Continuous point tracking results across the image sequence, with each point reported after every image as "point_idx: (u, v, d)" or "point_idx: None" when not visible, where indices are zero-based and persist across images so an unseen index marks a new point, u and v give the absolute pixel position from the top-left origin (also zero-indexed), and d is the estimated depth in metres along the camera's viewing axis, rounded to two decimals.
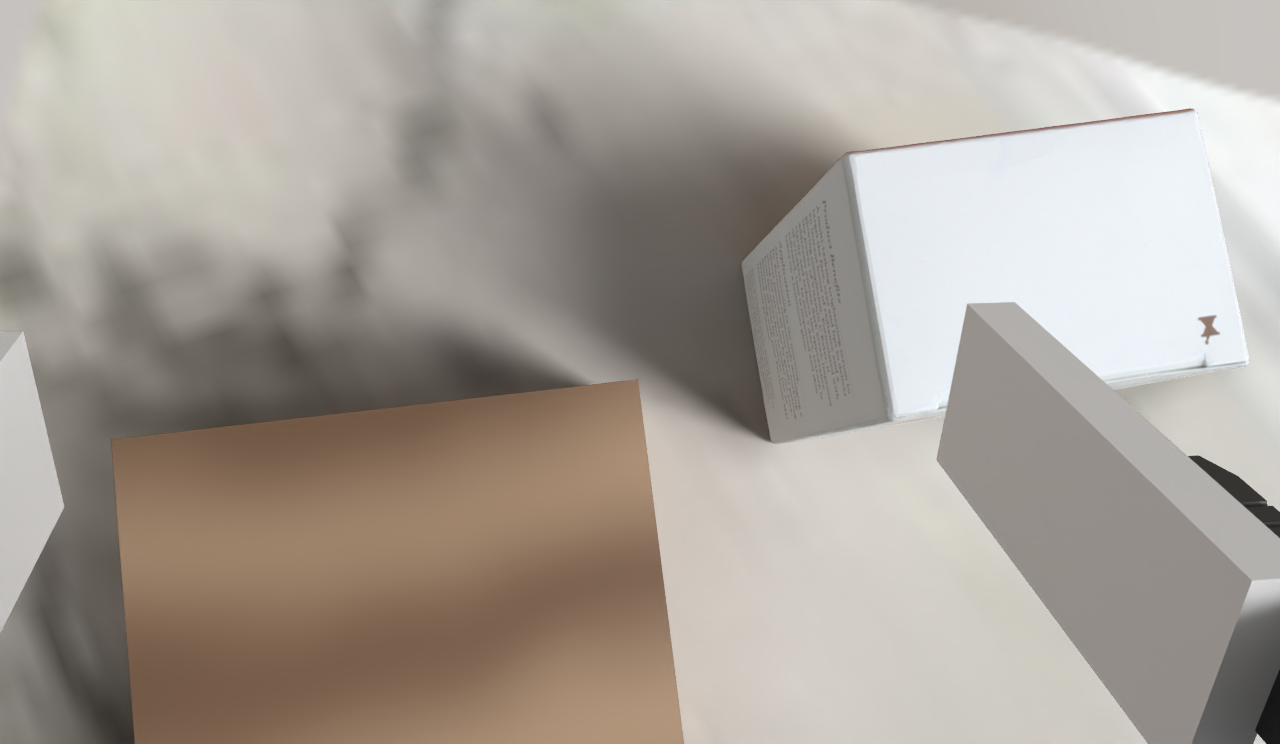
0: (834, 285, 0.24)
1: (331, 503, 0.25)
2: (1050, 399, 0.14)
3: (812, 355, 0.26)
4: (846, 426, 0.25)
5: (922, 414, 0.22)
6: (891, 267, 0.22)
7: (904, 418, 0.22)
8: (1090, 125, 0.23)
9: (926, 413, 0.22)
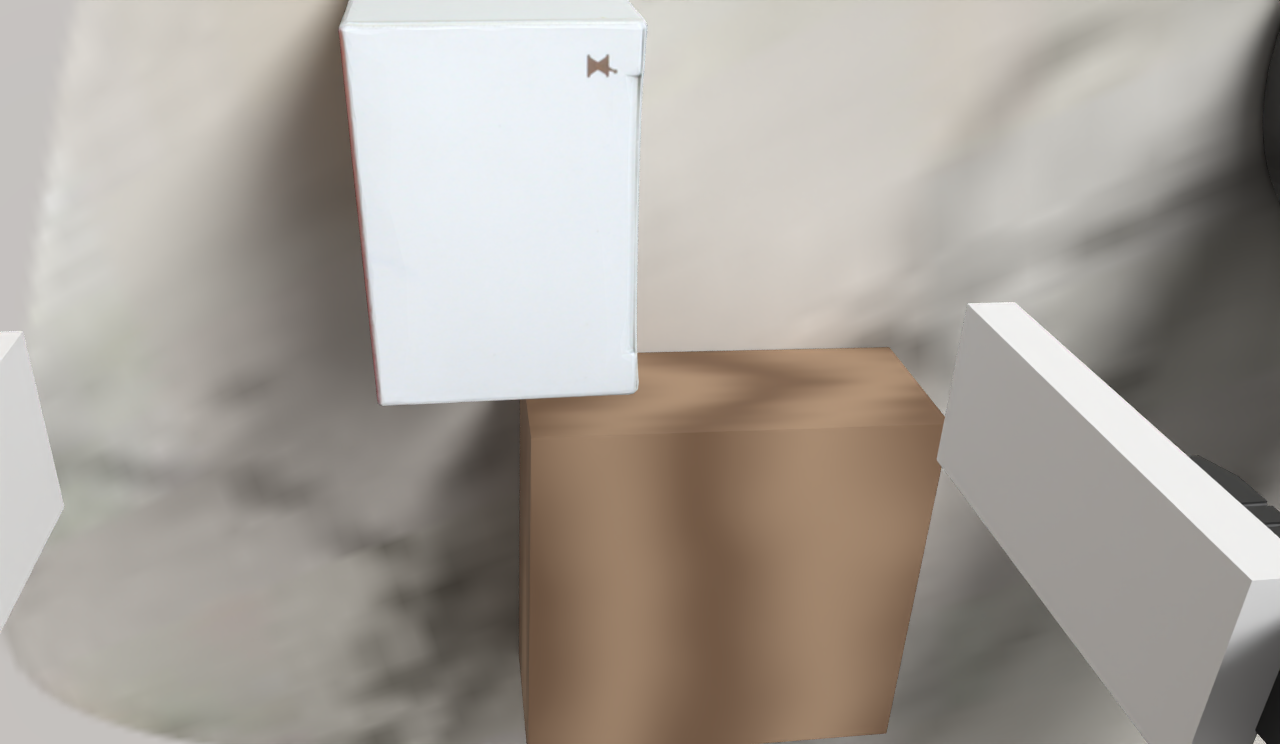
0: None
1: (596, 645, 0.34)
2: (1050, 399, 0.14)
3: None
4: None
5: (636, 364, 0.24)
6: (496, 382, 0.23)
7: (637, 380, 0.24)
8: (358, 161, 0.20)
9: (636, 361, 0.23)
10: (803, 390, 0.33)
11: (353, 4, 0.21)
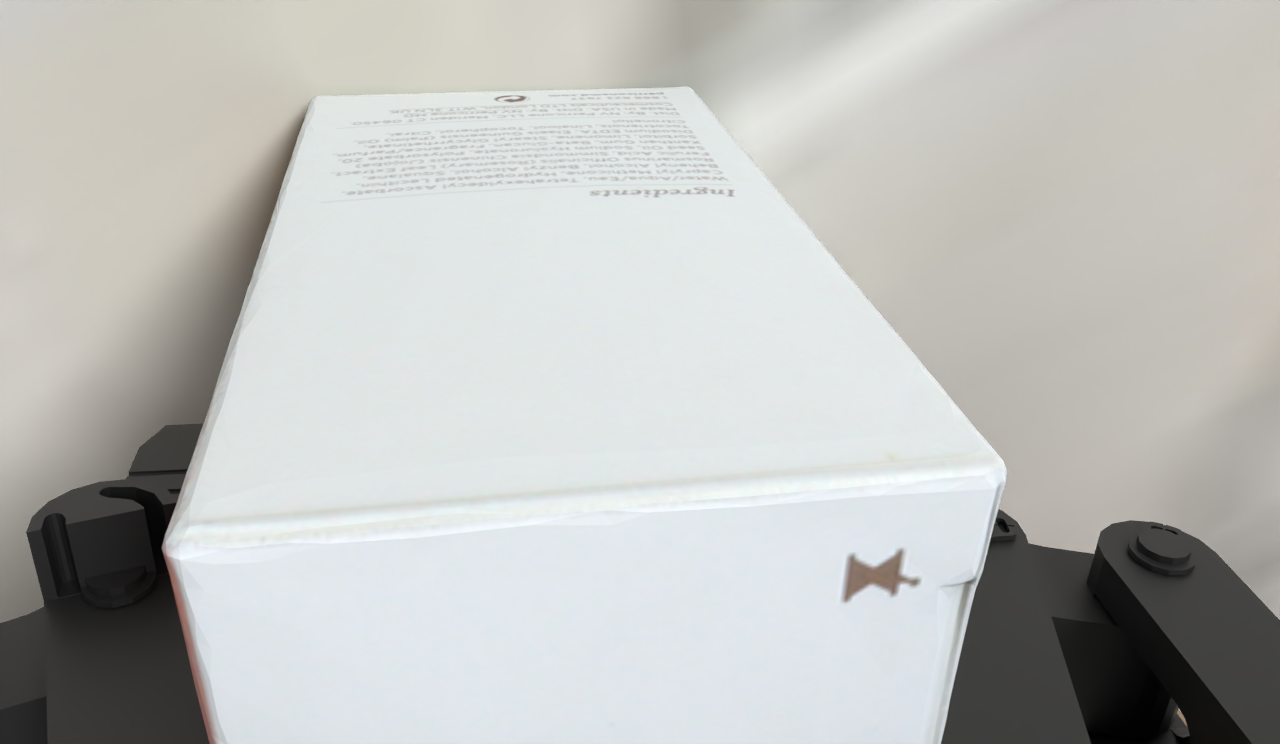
0: None
1: None
2: None
3: None
4: None
5: None
6: None
7: None
8: None
9: None
10: None
11: (227, 399, 0.08)
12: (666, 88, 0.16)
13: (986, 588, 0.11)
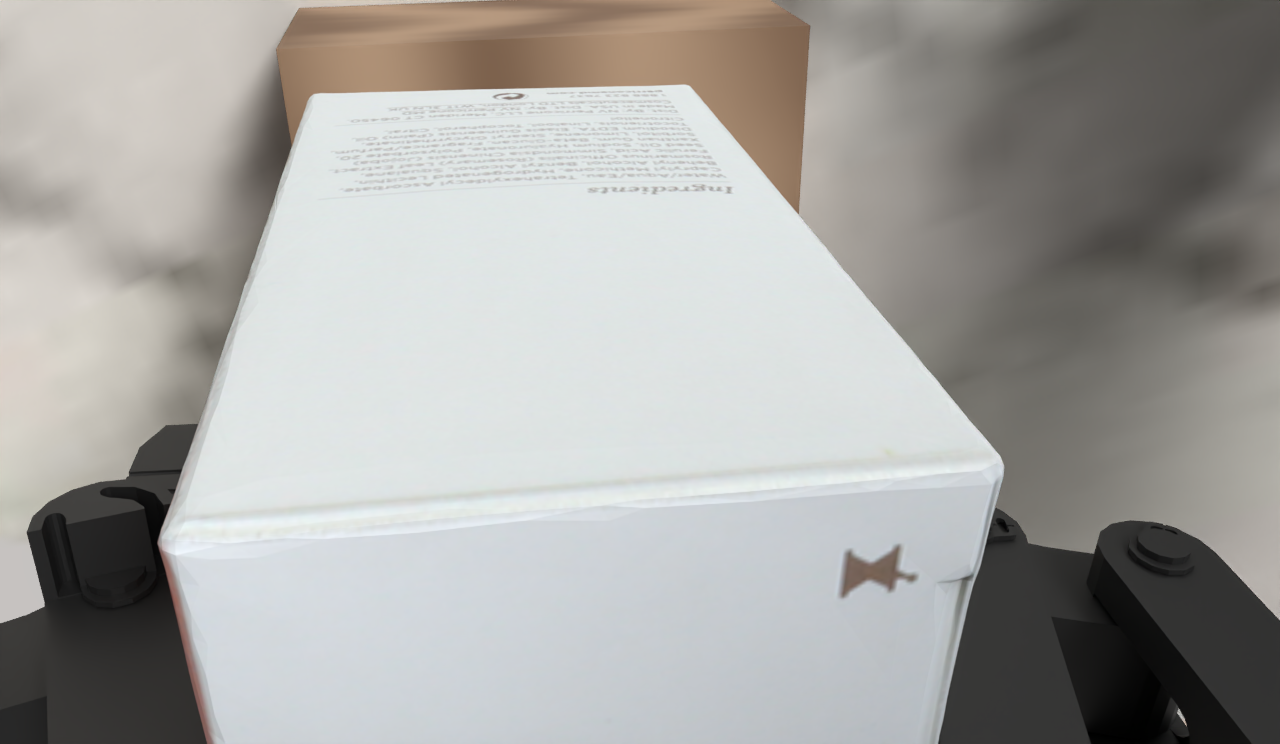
0: None
1: None
2: None
3: None
4: None
5: None
6: None
7: None
8: None
9: None
10: (636, 14, 0.27)
11: (223, 395, 0.08)
12: (665, 86, 0.16)
13: (987, 587, 0.11)
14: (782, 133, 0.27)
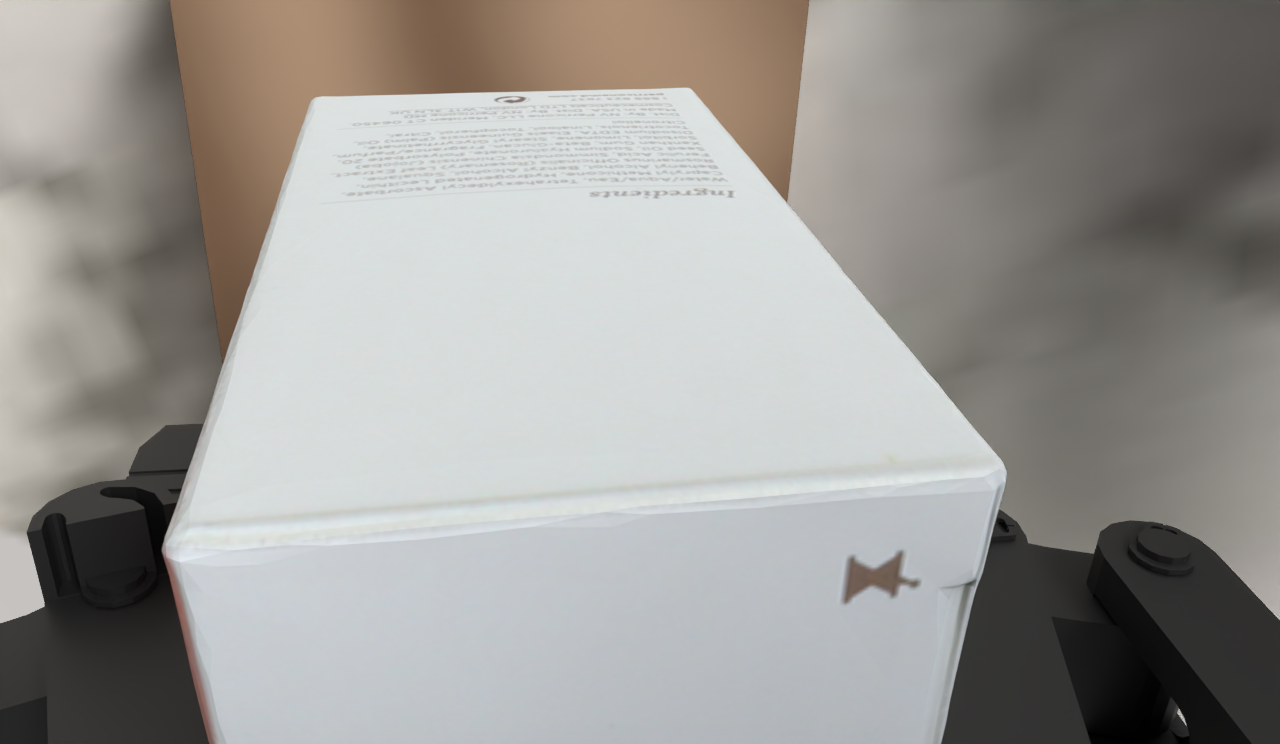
0: None
1: None
2: None
3: None
4: None
5: None
6: None
7: None
8: None
9: None
10: None
11: (226, 401, 0.08)
12: (666, 89, 0.16)
13: (986, 587, 0.11)
14: (779, 41, 0.22)
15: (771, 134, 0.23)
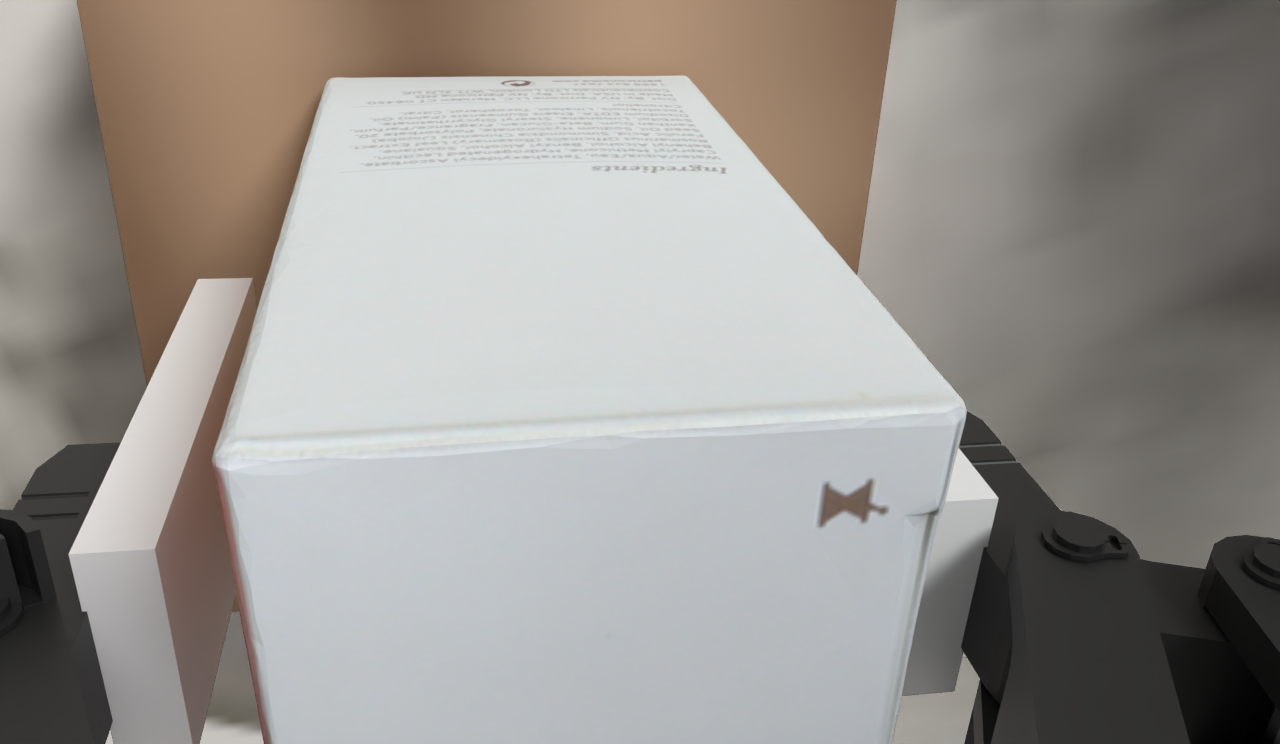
0: None
1: None
2: None
3: None
4: None
5: None
6: None
7: None
8: (271, 724, 0.09)
9: None
10: None
11: (263, 338, 0.09)
12: (663, 76, 0.17)
13: (1094, 603, 0.10)
14: (850, 102, 0.18)
15: (837, 213, 0.19)
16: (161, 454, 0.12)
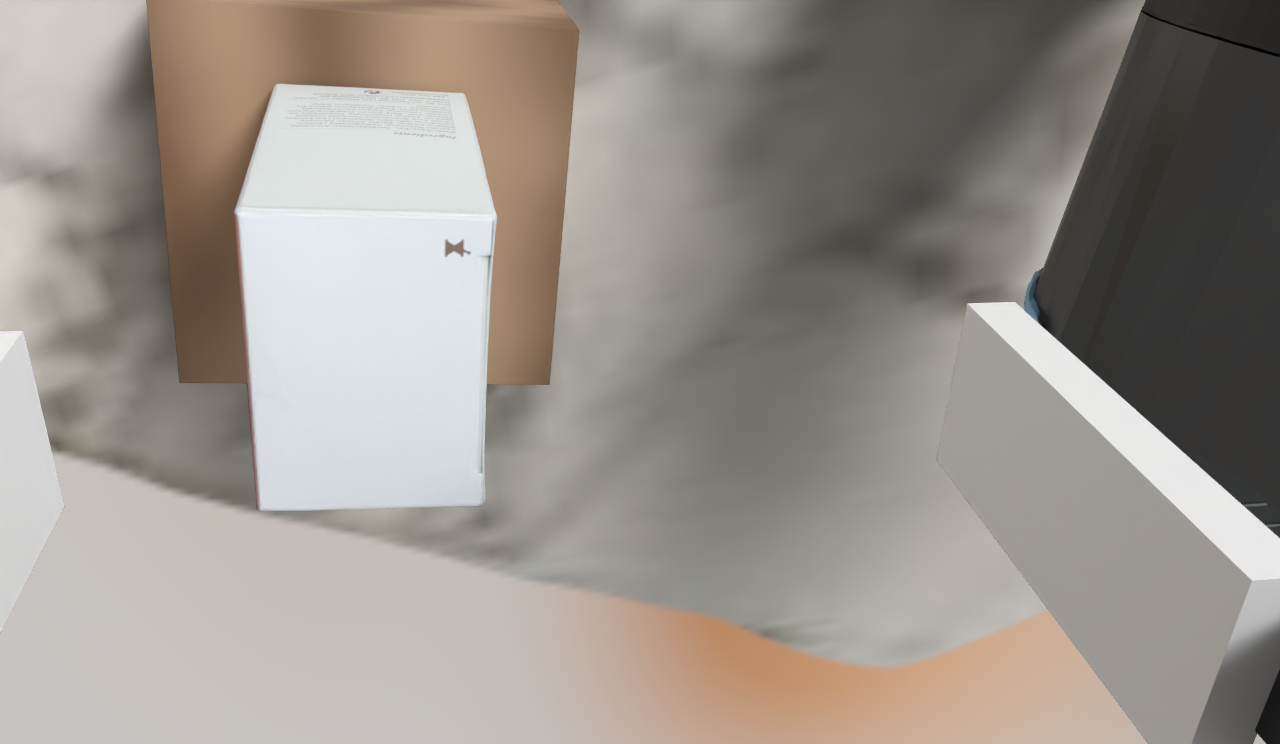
0: None
1: None
2: (1050, 399, 0.14)
3: None
4: None
5: (483, 482, 0.28)
6: (361, 494, 0.27)
7: (484, 494, 0.28)
8: (246, 316, 0.24)
9: (483, 480, 0.28)
10: (449, 5, 0.34)
11: (249, 181, 0.25)
12: None
13: None
14: (555, 112, 0.34)
15: (551, 172, 0.35)
16: None
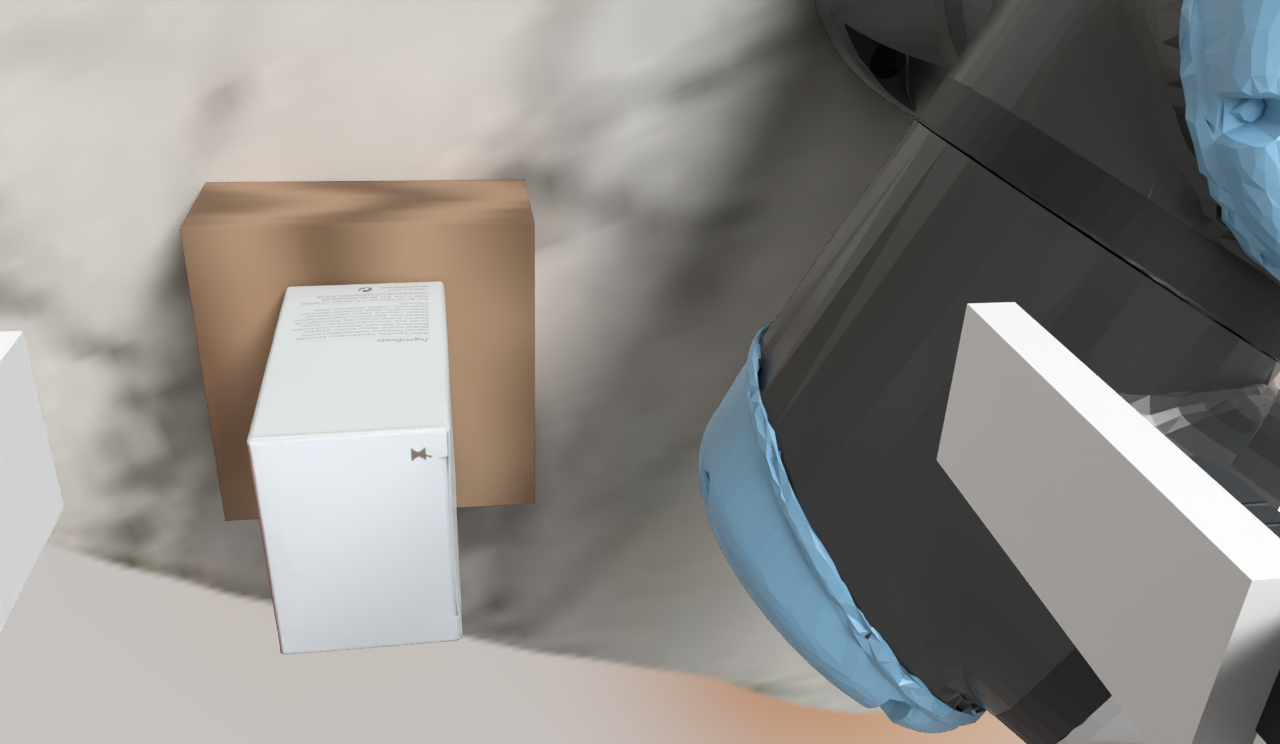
0: None
1: None
2: (1050, 399, 0.14)
3: None
4: None
5: (459, 622, 0.34)
6: (361, 638, 0.34)
7: (461, 631, 0.35)
8: (261, 515, 0.31)
9: (459, 620, 0.34)
10: (428, 203, 0.41)
11: (259, 408, 0.32)
12: (430, 282, 0.40)
13: None
14: (520, 288, 0.41)
15: (521, 335, 0.42)
16: None
